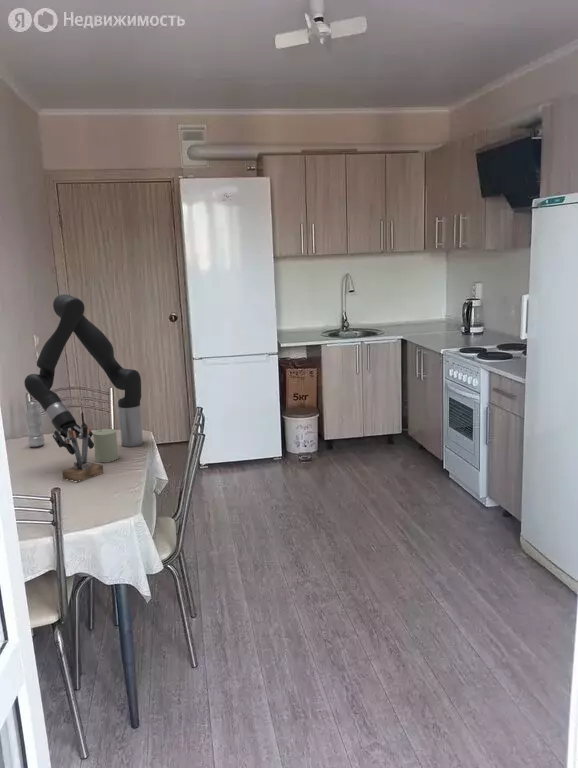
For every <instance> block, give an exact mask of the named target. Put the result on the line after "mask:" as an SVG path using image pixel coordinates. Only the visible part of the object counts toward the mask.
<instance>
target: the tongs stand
mask: <svg viewBox="0 0 578 768" xmlns="http://www.w3.org/2000/svg"><path fill="white" fill-rule="evenodd" d="M61 472H62V479H63V480H66V479H68V480H67V481H70V480H73V481H79V480H82V481H84V480H83V479H85V478H88V477H91V476H93V477H95V476H94V475H96V476H98V475H97V474H99V475H101V474H103V473H104V465H102V464H99V463H94V462H90V461H87V463H85V464H83V465H82V468H80V467H78V464H77V461H76V462H74V463H73V466H72V467H69V468H68V469H64V470H62V471H61ZM100 473H101V474H100ZM91 478H92V477H91ZM88 479H89V478H88ZM85 480H86V479H85ZM73 481H72V482H73Z"/></svg>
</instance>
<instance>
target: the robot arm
mask: <svg viewBox="0 0 578 768" xmlns="http://www.w3.org/2000/svg"><path fill="white" fill-rule="evenodd" d="M52 304H53V305H52V307H53V311H54V313H55V315H56V316H58V318H60V319H59V323H58V325H57V327H56V329H55V330H54V332H53V333H52V334H51V336H50V337H49V338H48V339H47V341H45V343H44V345H43V347H42V348H41V351H40V354H39V356H38V358H37V360H36V366H37V367H38V368H39V374H37V373H30V374H28V375H27V376H26V377H25V379H24V383H23V384H24V387H25V390H26V391H27V392H28V394H29V395H31V397H32V398H33V399H34V401H37V403H38V404H40V405H41V407H42V409H43V410H44V411H43V412H45V413H46V415H47V417H48V419H49V421H50V422H51V424H52V425H53V427H54V428H55V430H54V432H53V433H52V438H53V440H54V441H55V443H56V445H58V447H59V448H62V447H64V448H65V449H66V450H67V452H68V453H69V454H70V455H71V456H72V455H75V452H76V451H75V449H74V448H73V445H72V443H71V442H70V441H71V437H69V433H68V431H69V430H73V431H75V434H76V438H77V439H79V440H82V437H83V426H87V427H89V426H88V425H87V424H86V423H85V422H83V423H82V424H80V425H78V423H77V422H76V418H75V417H74V416H73V414H72V413H71V411H70V410H69V408H68V407H67V406H66V404H65V403H64V402H63V401H62V399H61V398H60V396H59V395H58V394H57V393H56V392H54V391H52V390H51V389H52V387H53V385H54V379H55V373H56V367H57V364H58V362H59V360H60V358H61V356H62V352H63V350H64V348H65V346H66V344H67V343H68V342H69V339H70V337H71V335H72V334H75V337H77V339H78V340H79V342H80V343H81V344H82V345H83V346H84V348H85V349H86V351H87V352H88V353H89V354H90V356H91V357H93V359H94V360H95V361H96V363H98V365H99V366H100V367H101V368H102V369H103V372H104V373H105V374H106V375H107V377H108V379H109V380H110V382H111V384H112V386H113V387H114V388H116V389H118V390H120V391H124V396H123V397H121V398H120V399H118V401H117V404H118V405H117V407H118V416H119V419H118V420H119V429H120V441H121V442H120V443H121V446H122V447H128V448H131V447H138V446H141V445H143V443H144V438H143V436H144V435H143V424H142V413H141V412H142V410H141V401H142V400H141V399H142V379H141V374H140V373H139V371H138V370H136V369H131V368H124V367H122V366H121V365H120V363H119V362H118V361H117V360H116V357H115V352H114V346H113V344H112V343H111V341H110V340H109V339H108V338H107V336H106V335H105V334H104V333H103V332H102V330H101V329H99V328H98V327H97V326H96V325H95V324H93V323H92V322H91V321H90V320H89V319H88V318H87V317H86V316H85V315H84V313H85V308H86V307H85V304H84V302H83V301H82V300H81V299H80V298H77V297H75V296H72V295H70V294H59V295H57V296H56V297H55V298H54V300H53V303H52ZM92 437H93V432H92V431H91V429H90V430H89V433H88V449H90V450H92V449H93V448H94V441H93V440H92V439H91V438H92Z"/></svg>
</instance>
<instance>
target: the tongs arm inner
mask: <svg viewBox="0 0 578 768" xmlns="http://www.w3.org/2000/svg"><path fill="white" fill-rule="evenodd" d="M87 426H88V425H87ZM87 426H83V437H82V439H81V440H82V441H81V458H82V462H83V464H85V463H87V462H88V449H89V447H88V434H89V430H91V429H90V426H88V427H87Z"/></svg>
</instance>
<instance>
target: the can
mask: <svg viewBox="0 0 578 768" xmlns="http://www.w3.org/2000/svg"><path fill="white" fill-rule="evenodd" d="M92 433H93V435H92V437H93V443H94V447H93V448H94V457H95V459H94V462H96V463H100V462H106V463H111V461H112V462H115V461H117V460H118V459H119V458H120V457H119V451H118V440H117V437H118V436H117V430H116V429H114V428H102V429H98V430H94V431H93V432H92ZM116 459H117V460H116ZM114 460H115V461H114Z"/></svg>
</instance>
